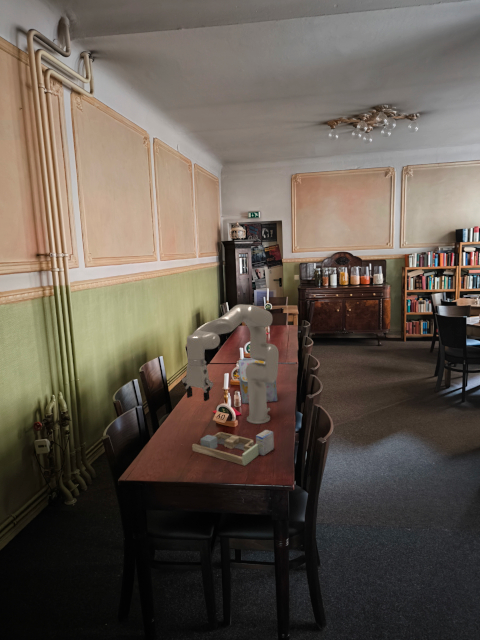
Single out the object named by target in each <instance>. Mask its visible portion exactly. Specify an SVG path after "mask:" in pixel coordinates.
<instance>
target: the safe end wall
mask: <svg viewBox="0 0 480 640" xmlns="http://www.w3.org/2000/svg"><path fill="white" fill-rule="evenodd" d="M258 456H260V454H259V446H258V444H256V443H254V446H252V447H251V448H250V449H248V450H247V451H246V452H244V451H243V453H242V454H241V457H242V462H243V465H242V466H247V465H248V464H249V463H251V462H252V461H253V460H254V459H255V458H257V457H258Z"/></svg>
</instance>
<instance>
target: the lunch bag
mask: <svg viewBox="0 0 480 640" xmlns="http://www.w3.org/2000/svg"><path fill="white" fill-rule="evenodd" d="M252 362H257V363H263V364H265V361H259V360H254V359H252V358H251V357H250V358H247V357H242V359H239V360H238V363H237V364H238V368H239V380H238V381H239V388H240V397H241V402H242V403H241V404H249V392H248V381H247V377H246V367H247V365H248V364H250V363H252ZM264 383H265V382H264ZM265 386H266V400H267V402H268V403H269V402H270V403H271V402H278V393H277V392H278V391H277V390H278V389H277V379H276V380H275V381H274V382H273V383H265Z"/></svg>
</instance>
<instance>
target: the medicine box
mask: <svg viewBox="0 0 480 640" xmlns="http://www.w3.org/2000/svg"><path fill="white" fill-rule="evenodd" d="M255 444H258V446H259V456H260V455H261V456H265V455H266V454H268V453H270V452H271V451H273V450H274V448H275V441H274V431H271V430H268V429H264V430H263V431H262V432H260V433H258V434H256V435H255Z"/></svg>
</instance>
